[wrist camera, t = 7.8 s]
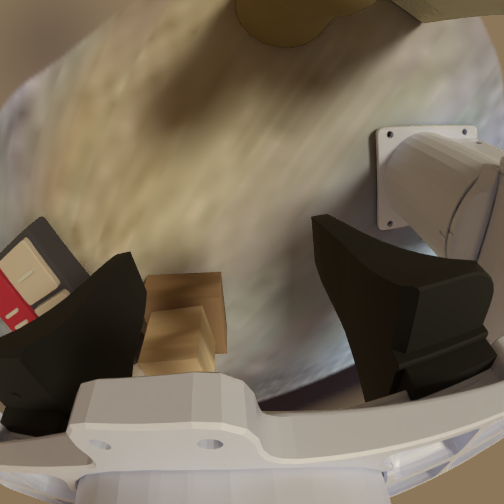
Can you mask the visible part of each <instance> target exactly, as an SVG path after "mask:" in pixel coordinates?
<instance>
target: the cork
mask: <svg viewBox="0 0 504 504" xmlns="http://www.w3.org/2000/svg"><path fill="white" fill-rule="evenodd" d="M375 1H376V0H235V9H236V14H237V16H238V19H239V21H240V24H241V25H242V26H243V27H244V28H245V30H246V31H247V32H248V33H249V34H250V35H251V36H253V37H255V38H256V39H258V40H259V41H261V42H262V43H266V44H269V45H272V46H276V47H295V46H299V45H304V44H306V43H308V42H310V41H312V40H313V39H315V38H317V37H318V36H319V35H320V33H321V32H322V31H323V30H324V29H325V27H326V26H327V25H328V24H329V23H330V21H331V20H332V19H333V18H334V17H340V16H347V15H352V14H354V13H356V12H358V11H360V10H363V9H365V8H367V7H369V6H371V5H372V4H373V3H374V2H375Z"/></svg>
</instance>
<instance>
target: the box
mask: <svg viewBox="0 0 504 504" xmlns="http://www.w3.org/2000/svg"><path fill="white" fill-rule="evenodd" d="M391 1H393V2H394V3H396V4H397V5H399V6H400V7H401V8H403V9H404V10H406V11H407V12H408V13H410V14H411V15H413V16H414V17H415V18H417V19H418V20H419V21H421V22H422V23H429V22H436V21H442V20H449V19H457V18H466V17H475V16H487V15H504V0H391Z"/></svg>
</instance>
